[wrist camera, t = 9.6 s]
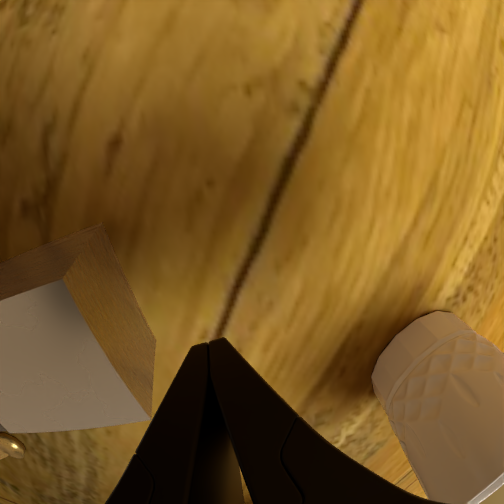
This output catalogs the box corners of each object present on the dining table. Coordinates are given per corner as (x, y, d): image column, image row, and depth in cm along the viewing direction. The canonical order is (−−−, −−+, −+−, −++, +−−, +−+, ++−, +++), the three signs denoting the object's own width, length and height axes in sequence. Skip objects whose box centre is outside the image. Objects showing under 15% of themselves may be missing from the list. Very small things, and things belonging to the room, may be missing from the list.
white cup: (339, 404, 17) (409, 543, 8) (403, 292, 15) (539, 435, 6) (423, 397, 19) (492, 494, 10) (481, 306, 17) (580, 398, 8)
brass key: (4, 427, 14) (0, 435, 13) (31, 446, 15) (28, 455, 14) (-23, 445, 15) (-25, 452, 14) (0, 461, 16) (-2, 468, 15)
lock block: (103, 221, 11) (62, 278, 7) (156, 337, 13) (151, 419, 9) (-21, 271, 10) (-73, 328, 6) (35, 365, 13) (9, 433, 9)
